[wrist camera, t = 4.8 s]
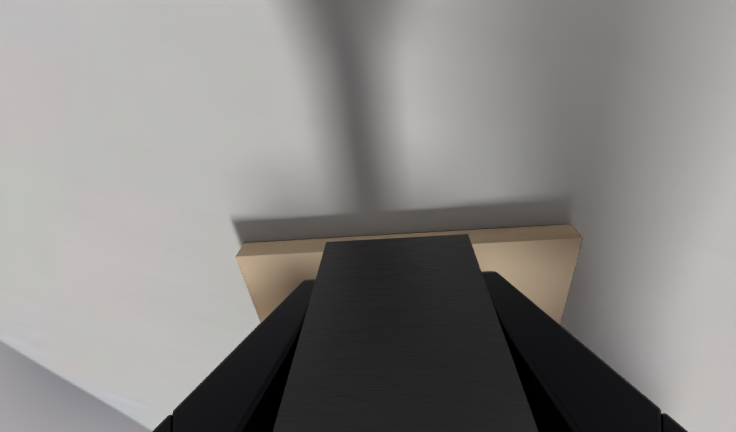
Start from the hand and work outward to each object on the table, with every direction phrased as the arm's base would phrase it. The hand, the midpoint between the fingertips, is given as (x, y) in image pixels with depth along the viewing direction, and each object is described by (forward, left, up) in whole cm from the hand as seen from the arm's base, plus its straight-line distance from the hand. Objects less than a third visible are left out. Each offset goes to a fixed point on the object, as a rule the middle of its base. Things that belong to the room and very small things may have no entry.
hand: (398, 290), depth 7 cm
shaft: (-7, 0, -1) cm, 7 cm away
